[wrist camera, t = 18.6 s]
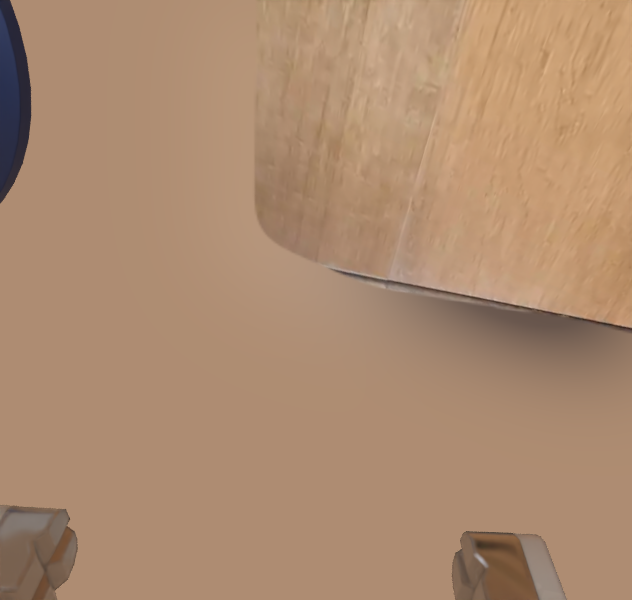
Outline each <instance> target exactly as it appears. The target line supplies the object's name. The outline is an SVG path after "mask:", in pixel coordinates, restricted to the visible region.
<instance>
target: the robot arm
mask: <svg viewBox="0 0 632 600" xmlns="http://www.w3.org/2000/svg"><path fill="white" fill-rule="evenodd" d="M69 520H70V518H69V515H68V513H67V511H66V509H53V508H35V507H19V506H8V505H0V600H57V597H56V593H55V590H56V589H57V588H58V587H60V586H61V585H62V584H63V583H64V582H65V581H67V580H68V578H69V575H70V573H71V571H72V568H73V566H74V562H75V558H76V553H77V537H76V534H75V532H74V531H73V530H72V529H70V528H69V527H68V526H67V524H68V522H69ZM460 542H461V547H462V549H461V550H460V551H458V552H456V553H455V556H454V560H453V565H452V581H453V589H454V595H455V600H567V599H566V596H565V593H564V591H563V588H562V585H561V583H560V580H559V578H558V575H557V572H556V570H555V567H554V564H553V562H552V559H551V556H550V554H549V551H548V548H547V546H546V543H545V541H544V540H543V539H542V538H541V536H538V535H533V534H513V533H498V532H497V533H496V532H469V531H466V532H464V533H463V534H462V537H461V540H460Z"/></svg>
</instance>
